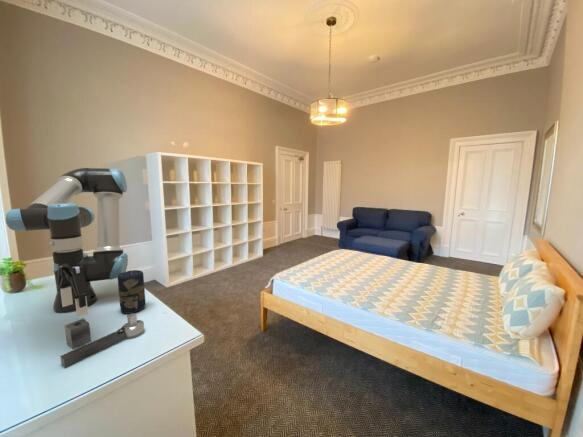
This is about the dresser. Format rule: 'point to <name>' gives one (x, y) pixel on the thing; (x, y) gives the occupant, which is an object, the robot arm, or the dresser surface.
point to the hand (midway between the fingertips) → (74, 310)
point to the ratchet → (105, 341)
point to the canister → (131, 291)
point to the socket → (78, 333)
